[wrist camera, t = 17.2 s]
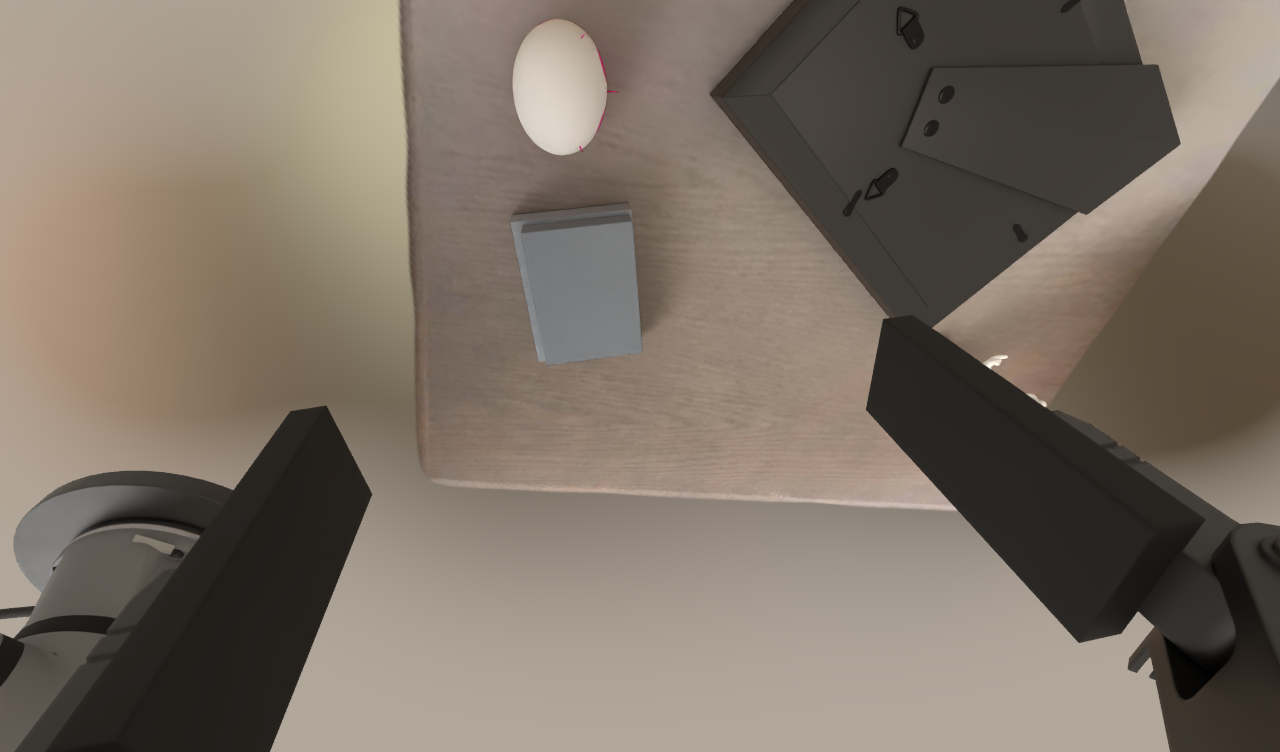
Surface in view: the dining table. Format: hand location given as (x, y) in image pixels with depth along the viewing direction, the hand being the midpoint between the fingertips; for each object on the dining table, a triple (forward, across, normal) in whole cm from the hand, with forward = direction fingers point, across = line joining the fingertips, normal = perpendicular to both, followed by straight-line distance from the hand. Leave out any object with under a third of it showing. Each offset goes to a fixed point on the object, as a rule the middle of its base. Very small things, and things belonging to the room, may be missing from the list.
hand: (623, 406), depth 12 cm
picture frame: (+30, +29, +1) cm, 42 cm away
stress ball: (+31, +1, +5) cm, 31 cm away
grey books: (+30, 0, -9) cm, 32 cm away
